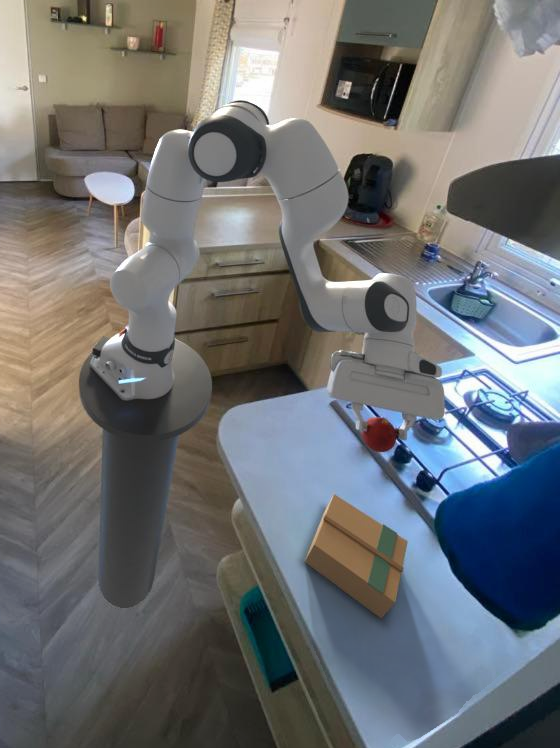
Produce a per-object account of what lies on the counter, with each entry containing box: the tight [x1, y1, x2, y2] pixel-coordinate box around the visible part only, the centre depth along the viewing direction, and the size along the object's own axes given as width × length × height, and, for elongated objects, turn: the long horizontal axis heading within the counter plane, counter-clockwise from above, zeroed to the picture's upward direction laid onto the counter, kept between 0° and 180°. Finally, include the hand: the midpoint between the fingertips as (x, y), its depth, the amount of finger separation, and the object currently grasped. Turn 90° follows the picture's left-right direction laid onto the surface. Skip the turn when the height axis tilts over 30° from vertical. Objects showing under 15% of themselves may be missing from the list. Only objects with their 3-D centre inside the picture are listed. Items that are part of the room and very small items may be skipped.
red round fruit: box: [360, 416, 398, 453], centre depth 78 cm, size 6×6×8 cm
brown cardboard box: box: [304, 493, 408, 619], centre depth 73 cm, size 13×11×6 cm
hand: (380, 435), depth 77 cm, fingers closed on red round fruit, 5 cm apart
